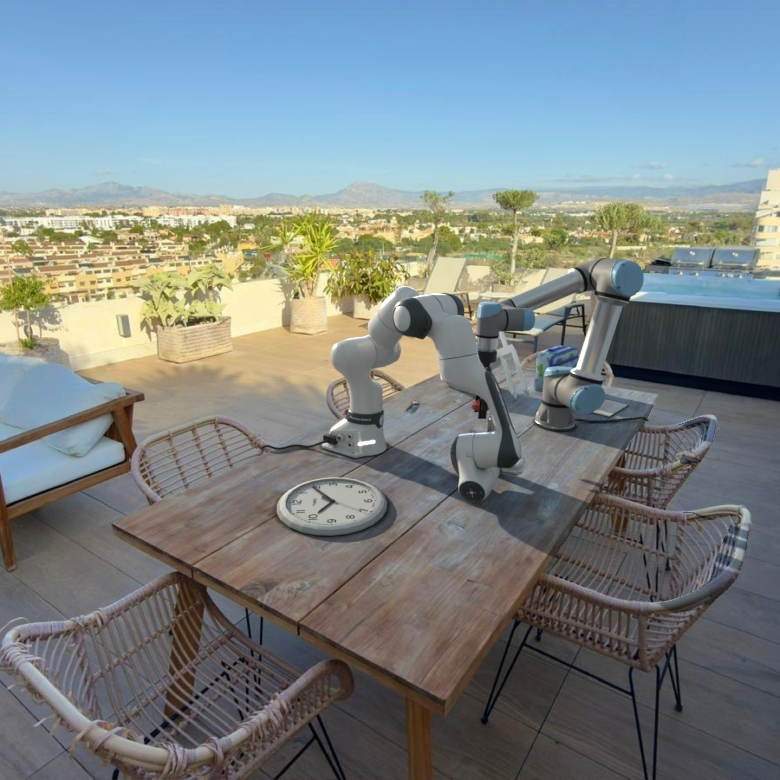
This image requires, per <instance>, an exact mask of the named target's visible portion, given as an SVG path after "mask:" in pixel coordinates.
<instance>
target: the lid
mask: <svg viewBox="0 0 780 780" xmlns="http://www.w3.org/2000/svg"><path fill="white" fill-rule="evenodd" d="M470 408H471V409H472V410H473V411H474V410H476V411H478V410H479V401H478V400H476V401H475V400H472V402H471V407H470ZM488 411H489V408H488V405H487V412H488Z"/></svg>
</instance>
